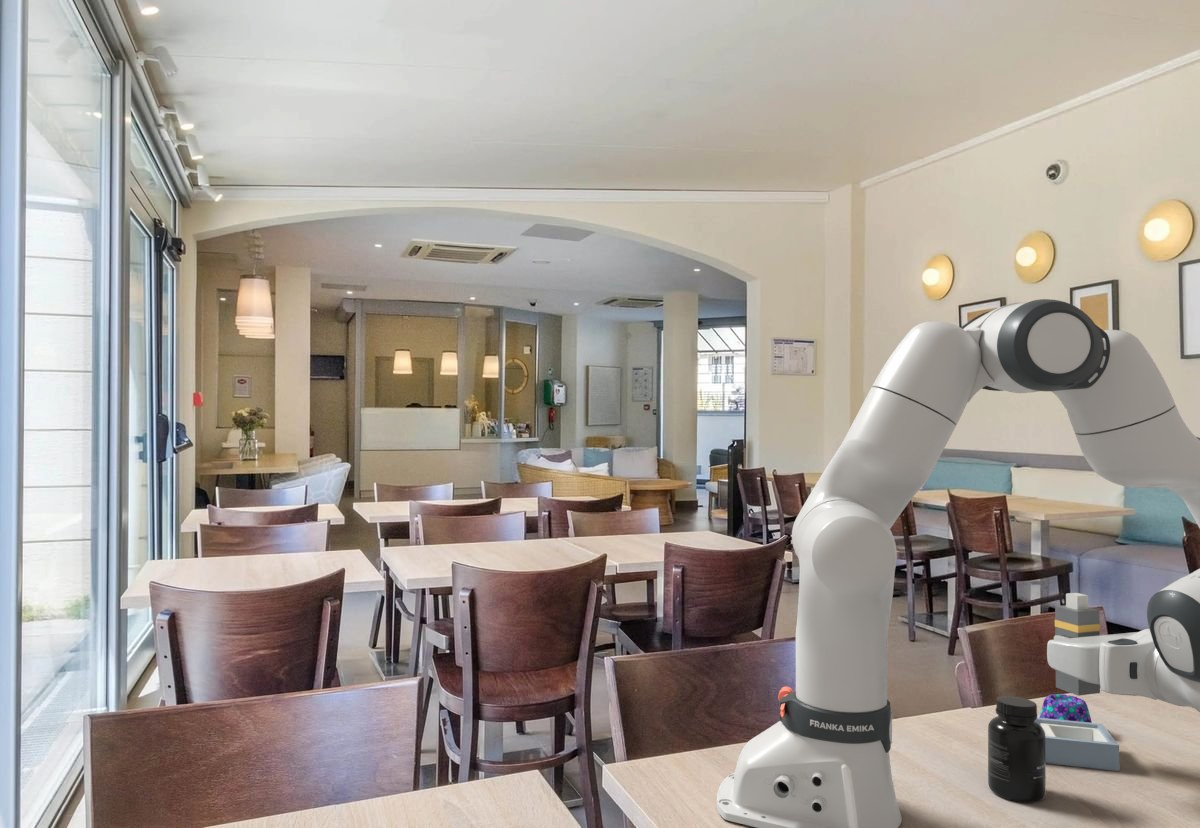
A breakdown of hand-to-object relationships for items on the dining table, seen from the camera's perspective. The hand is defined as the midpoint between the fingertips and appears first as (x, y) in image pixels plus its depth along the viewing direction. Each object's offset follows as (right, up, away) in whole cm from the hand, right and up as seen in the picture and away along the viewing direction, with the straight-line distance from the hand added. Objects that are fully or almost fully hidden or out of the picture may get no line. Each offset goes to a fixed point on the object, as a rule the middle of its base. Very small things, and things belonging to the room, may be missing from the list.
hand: (1072, 639), depth 124 cm
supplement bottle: (-15, -17, -13) cm, 26 cm away
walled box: (-2, -17, 0) cm, 17 cm away
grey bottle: (0, -7, -1) cm, 7 cm away
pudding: (+5, -18, +10) cm, 21 cm away
